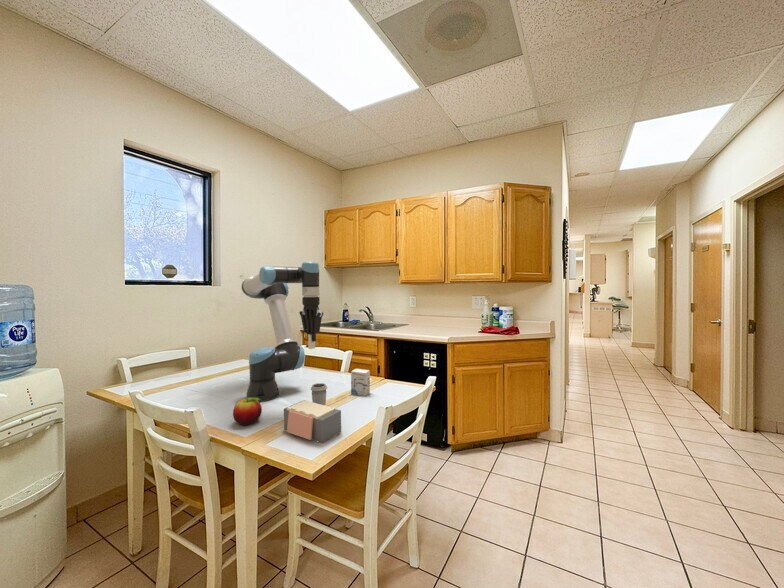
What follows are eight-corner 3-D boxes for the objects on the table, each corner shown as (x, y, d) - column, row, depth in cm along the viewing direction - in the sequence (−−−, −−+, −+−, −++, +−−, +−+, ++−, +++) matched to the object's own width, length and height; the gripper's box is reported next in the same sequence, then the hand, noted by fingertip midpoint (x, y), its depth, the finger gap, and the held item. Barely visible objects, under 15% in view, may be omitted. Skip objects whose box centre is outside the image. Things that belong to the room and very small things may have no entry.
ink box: (350, 394, 164) (350, 370, 163) (355, 390, 168) (355, 368, 168) (365, 396, 161) (365, 372, 160) (370, 393, 165) (370, 370, 165)
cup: (312, 416, 137) (311, 388, 136) (309, 411, 143) (309, 384, 142) (329, 414, 140) (328, 386, 139) (325, 408, 146) (325, 381, 145)
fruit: (241, 416, 138) (240, 393, 137) (266, 416, 137) (266, 393, 137) (227, 428, 127) (227, 402, 126) (255, 428, 127) (254, 403, 126)
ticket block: (284, 429, 125) (283, 406, 125) (303, 420, 134) (303, 398, 133) (322, 443, 115) (322, 417, 114) (341, 431, 123) (340, 408, 123)
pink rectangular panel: (288, 431, 122) (286, 431, 121) (290, 410, 123) (288, 411, 122) (311, 439, 116) (310, 439, 115) (313, 417, 116) (312, 418, 116)
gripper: (294, 296, 147) (295, 348, 148) (315, 297, 140) (316, 351, 141) (306, 295, 153) (307, 345, 154) (327, 296, 146) (328, 348, 147)
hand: (311, 348), depth 148 cm, fingers closed
